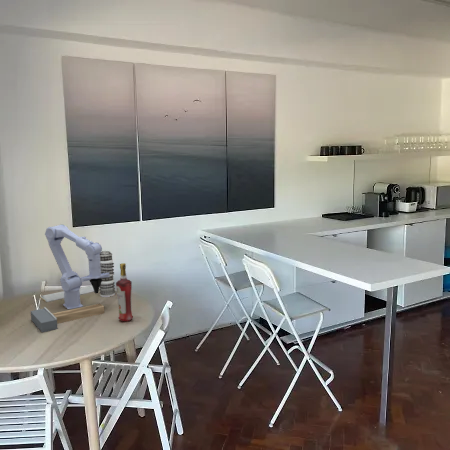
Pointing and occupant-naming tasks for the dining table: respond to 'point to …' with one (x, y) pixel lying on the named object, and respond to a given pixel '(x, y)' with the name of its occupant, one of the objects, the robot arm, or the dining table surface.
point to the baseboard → (61, 294)
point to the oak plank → (79, 313)
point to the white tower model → (107, 267)
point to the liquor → (124, 295)
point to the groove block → (44, 320)
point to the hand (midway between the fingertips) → (96, 292)
